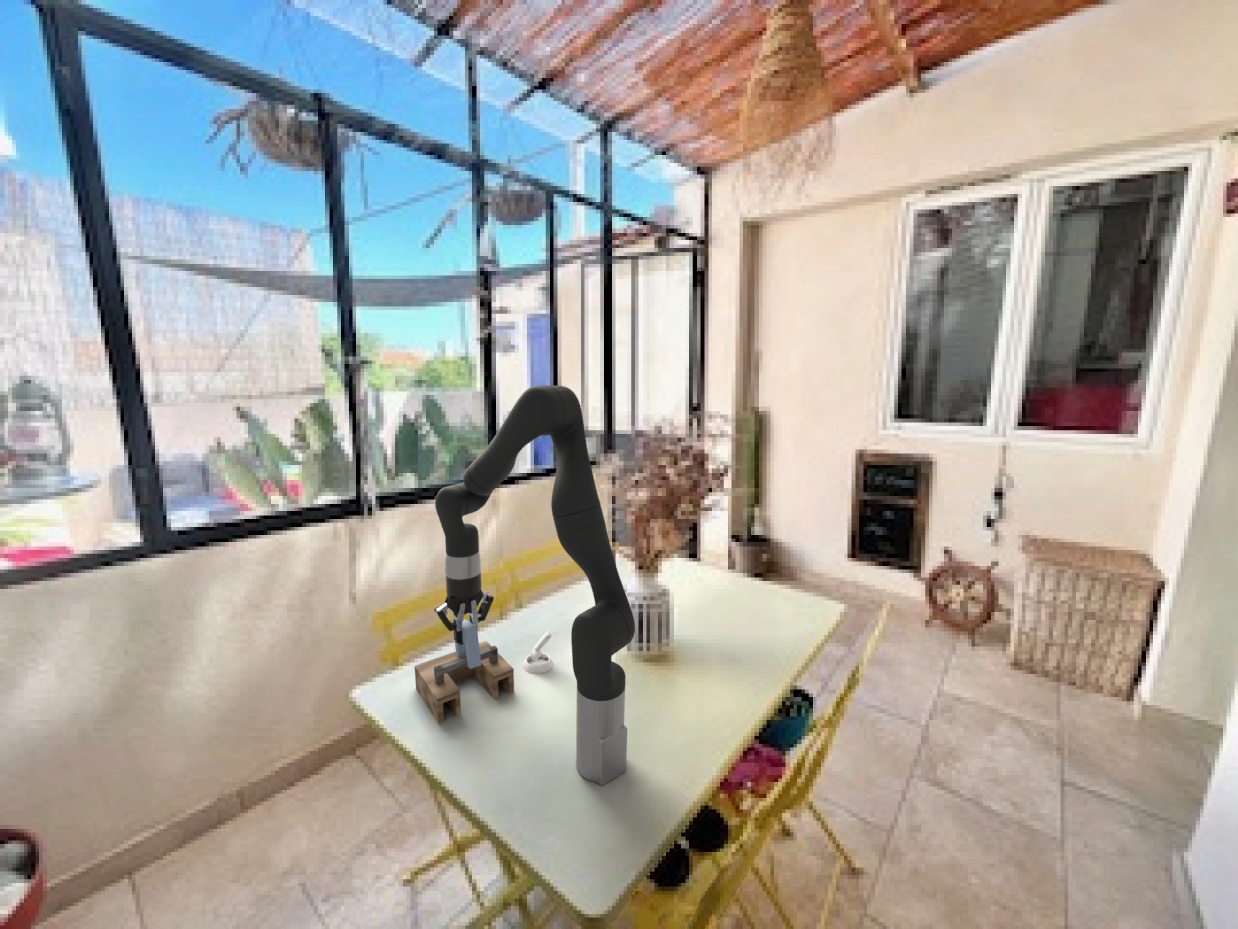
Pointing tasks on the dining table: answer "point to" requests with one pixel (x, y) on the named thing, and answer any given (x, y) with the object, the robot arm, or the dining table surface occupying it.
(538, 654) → the mortar and pestle
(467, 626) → the blue arch block
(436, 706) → the wooden stand with handle
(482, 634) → the dining table surface
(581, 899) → the dining table surface
